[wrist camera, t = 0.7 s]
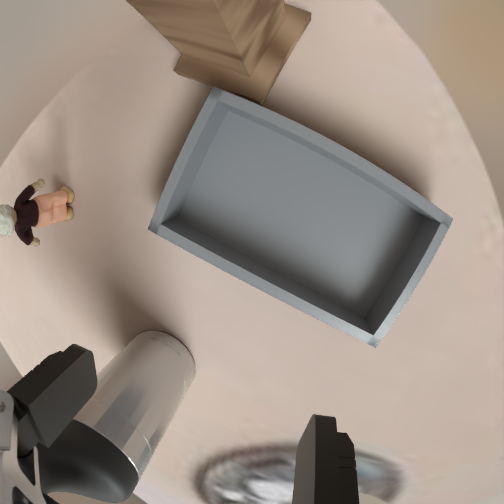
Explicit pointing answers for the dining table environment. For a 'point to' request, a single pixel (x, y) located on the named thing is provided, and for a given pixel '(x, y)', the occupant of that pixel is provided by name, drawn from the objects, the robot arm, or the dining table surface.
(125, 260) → the dining table surface
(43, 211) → the grandmother figurine
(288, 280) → the tote
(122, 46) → the dining table surface
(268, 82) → the brown tall square column
